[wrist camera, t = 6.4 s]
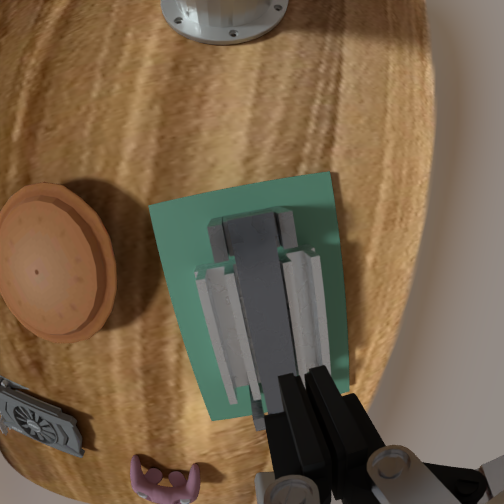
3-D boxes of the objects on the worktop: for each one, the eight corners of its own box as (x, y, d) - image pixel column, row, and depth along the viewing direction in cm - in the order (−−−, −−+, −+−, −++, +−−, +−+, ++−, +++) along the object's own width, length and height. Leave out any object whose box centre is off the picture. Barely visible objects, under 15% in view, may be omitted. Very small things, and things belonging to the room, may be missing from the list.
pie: (124, 344, 29) (109, 370, 24) (12, 307, 27) (-12, 323, 22) (141, 195, 26) (123, 197, 21) (16, 175, 24) (-12, 175, 19)
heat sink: (186, 223, 25) (176, 234, 20) (301, 201, 26) (322, 205, 20) (231, 397, 29) (233, 434, 24) (323, 377, 30) (340, 411, 24)
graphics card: (0, 434, 27) (-23, 380, 25) (8, 421, 31) (-11, 367, 28) (86, 472, 29) (71, 423, 27) (92, 455, 33) (81, 405, 31)
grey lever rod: (226, 217, 21) (226, 220, 19) (268, 209, 21) (272, 211, 19) (268, 415, 25) (271, 429, 24) (299, 408, 26) (304, 421, 24)
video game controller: (135, 458, 34) (131, 498, 29) (129, 452, 31) (124, 496, 26) (200, 467, 35) (199, 508, 30) (201, 462, 33) (199, 508, 27)
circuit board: (151, 204, 26) (148, 205, 25) (325, 171, 26) (329, 171, 25) (211, 414, 31) (211, 421, 30) (345, 385, 32) (349, 391, 31)
